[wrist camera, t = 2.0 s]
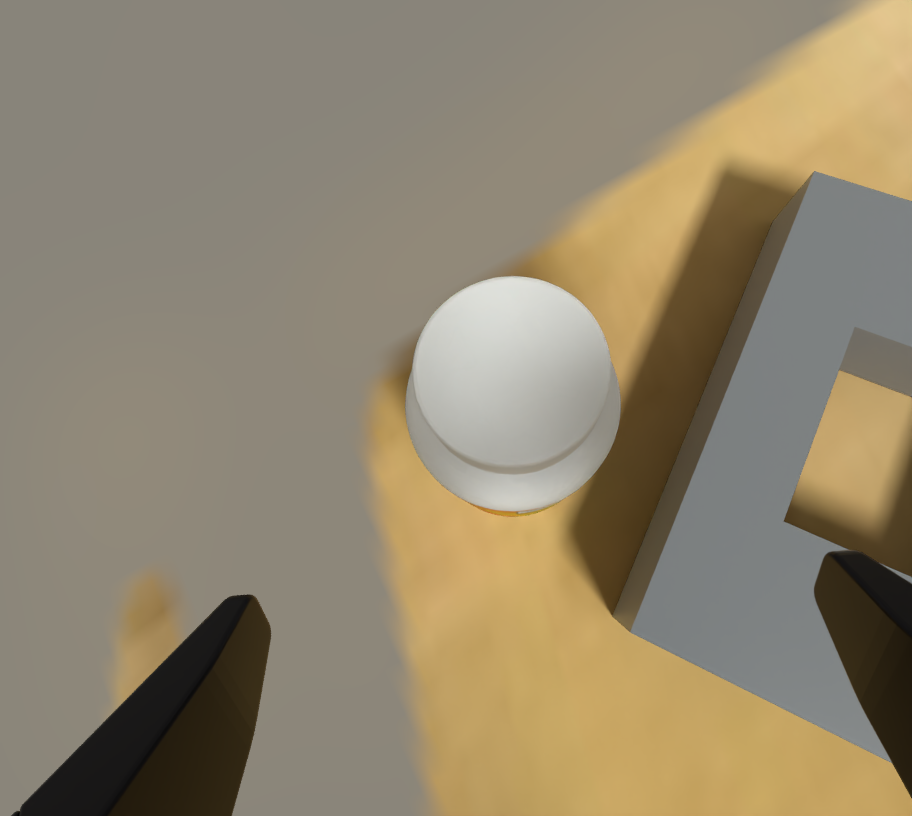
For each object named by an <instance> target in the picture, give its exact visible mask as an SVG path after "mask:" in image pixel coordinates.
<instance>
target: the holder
mask: <svg viewBox="0 0 912 816" xmlns="http://www.w3.org/2000/svg"><path fill="white" fill-rule="evenodd" d="M839 370H841V371H844V372H847V373H849V374H852V375H855V376H857V377H860V378H863V379H865V380H868V381H871V382H873V383H876V384H879V385H881V386H884V387H887V388H889V389H892V390H895V391H897V392H900V393H903V394H905V395H908V396H911V397H912V201H909V200H906V199H902V198H899V197H896V196H893V195H890V194H886V193H883V192H880V191H877V190H873V189H870V188H867V187H864V186H861V185H857V184H854V183H851V182H848V181H845V180H841V179H838V178H835V177H832V176H828V175H825V174H822V173H819V172H816V171H814V172H813V173H812V175H811V176H810V177H809V178H808V179H807V181H806V182H805V183H804V184H803V185H802V187H801V188H800V189H799V190H798V191H797V193H796V194H795V195H794V196H793V198H792V199H791V200H790V201H789V202H788V204H787V205H786V206H785V207H784V208H783V210H782V211H781V212H780V213H779V214H778V216H777V217H776V218H775V219H774V220H773V222H772V225H771V227H770V230H769V232H768V235H767V237H766V240H765V242H764V244H763V247H762V249H761V252H760V254H759V257H758V259H757V262H756V264H755V267H754V269H753V271H752V274H751V276H750V279H749V281H748V284H747V286H746V289H745V291H744V294H743V296H742V299H741V301H740V303H739V306H738V308H737V311H736V313H735V316H734V318H733V321H732V323H731V326H730V328H729V330H728V333H727V335H726V338H725V340H724V343H723V345H722V348H721V350H720V353H719V355H718V358H717V360H716V362H715V365H714V367H713V370H712V372H711V375H710V377H709V380H708V382H707V385H706V387H705V390H704V392H703V394H702V397H701V399H700V402H699V404H698V407H697V409H696V412H695V414H694V417H693V419H692V421H691V424H690V426H689V429H688V431H687V434H686V436H685V439H684V441H683V444H682V446H681V449H680V451H679V453H678V456H677V458H676V461H675V463H674V466H673V468H672V471H671V473H670V476H669V478H668V481H667V483H666V485H665V488H664V490H663V493H662V495H661V498H660V500H659V503H658V505H657V508H656V510H655V512H654V515H653V517H652V520H651V522H650V525H649V527H648V530H647V532H646V535H645V537H644V540H643V542H642V544H641V547H640V549H639V552H638V554H637V557H636V559H635V562H634V564H633V567H632V569H631V571H630V574H629V576H628V579H627V581H626V584H625V586H624V589H623V591H622V594H621V596H620V599H619V601H618V603H617V606H616V608H615V611H614V613H613V616H612V617H614V618H615V619H616V620H617V621H618V622H619V623H620V624H621V625H623V626H624V627H625V628H626V629H627V630H628V631H629V632H631V633H633V634H635V635H637V636H639V637H641V638H643V639H645V640H647V641H649V642H651V643H653V644H655V645H657V646H659V647H661V648H663V649H665V650H667V651H669V652H671V653H673V654H675V655H677V656H679V657H681V658H683V659H685V660H687V661H689V662H691V663H693V664H695V665H697V666H699V667H701V668H703V669H705V670H707V671H709V672H711V673H713V674H715V675H717V676H719V677H721V678H723V679H725V680H727V681H729V682H731V683H733V684H735V685H737V686H739V687H741V688H743V689H745V690H747V691H749V692H751V693H753V694H755V695H757V696H759V697H761V698H763V699H765V700H767V701H769V702H771V703H773V704H775V705H777V706H779V707H781V708H783V709H785V710H787V711H789V712H791V713H793V714H795V715H797V716H799V717H801V718H803V719H805V720H807V721H809V722H811V723H813V724H815V725H817V726H819V727H821V728H823V729H825V730H827V731H829V732H831V733H833V734H835V735H837V736H839V737H841V738H843V739H845V740H847V741H849V742H851V743H853V744H855V745H857V746H859V747H861V748H863V749H865V750H867V751H869V752H871V753H873V754H875V755H877V756H879V757H881V758H883V759H885V760H887V761H889V762H891V760H890V758H889V756H888V754H887V753H886V751H885V749H884V747H883V745H882V744H881V742H880V740H879V738H878V736H877V735H876V733H875V731H874V729H873V727H872V725H871V724H870V722H869V720H868V718H867V716H866V714H865V712H864V710H863V709H862V707H861V705H860V703H859V701H858V699H857V696H856V694H855V692H854V690H853V688H852V686H851V683H850V681H849V678H848V676H847V674H846V671H845V669H844V667H843V664H842V662H841V660H840V657H839V655H838V653H837V650H836V648H835V646H834V643H833V641H832V639H831V636H830V634H829V632H828V629H827V627H826V625H825V622H824V620H823V618H822V615H821V613H820V611H819V608H818V606H817V603H816V601H815V597H814V585H815V582H816V579H817V576H818V573H819V570H820V567H821V564H822V561H823V558H824V556H825V555H826V554H827V553H828V552H831V551H842V550H848V549H846V548H844V547H841V546H839V545H837V544H834V543H832V542H830V541H828V540H825V539H823V538H821V537H818V536H816V535H814V534H811V533H809V532H807V531H805V530H802V529H800V528H798V527H795V526H793V525H791V524H788V523H786V522H784V519H785V516H786V513H787V510H788V508H789V505H790V502H791V499H792V497H793V494H794V491H795V489H796V486H797V483H798V480H799V478H800V475H801V472H802V469H803V467H804V464H805V461H806V459H807V456H808V453H809V450H810V448H811V445H812V442H813V439H814V437H815V434H816V431H817V429H818V426H819V423H820V420H821V418H822V415H823V412H824V409H825V407H826V404H827V401H828V398H829V396H830V393H831V390H832V388H833V385H834V382H835V379H836V377H837V374H838V371H839ZM881 565H883V564H881ZM883 566H885V565H883ZM885 567H886V568H888V569H889V570H891V571H893V572H894V573H896V574H897V575H899V576H901V577H902V578H904V579H905V580H907V581H909V582H910V583H912V577H910V576H908V575H906V574H903V573H901V572H899V571H897V570H894V569H892V568H890V567H887V566H885ZM891 763H892V762H891Z"/></svg>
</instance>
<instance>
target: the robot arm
mask: <svg viewBox="0 0 912 816" xmlns="http://www.w3.org/2000/svg"><path fill="white" fill-rule="evenodd" d="M814 597H815V601H816V603H817V606H818V608H819V611H820V613H821V615H822V618H823V620H824V622H825V625H826V627H827V629H828V632H829V634H830V636H831V639H832V641H833V643H834V646H835V648H836V650H837V653H838V655H839V657H840V660H841V662H842V664H843V667H844V669H845V671H846V674H847V676H848V678H849V681H850V683H851V686H852V688H853V690H854V692H855V694H856V696H857V699H858V701H859V703H860V705H861V707H862V709H863V710H864V712H865V714H866V716H867V718H868V720H869V722H870V724H871V725H872V727H873V729H874V731H875V733H876V735H877V736H878V738H879V740H880V742H881V744H882V745H883V747H884V749H885V751H886V753H887V754H888V756H889V758H890V760H891V762H892V764H893V765H894V767H895V769H896V771H897V773H898V774H899V776H900V778H901V780H902V782H903V783H904V785H905V787H906V789H907V791H908V793H909V794H910V796H911V798H912V583H910V582H909V581H907V580H905V579H904V578H902V577H901V576H899V575H897V574H896V573H894V572H893V571H891V570H889V569H888V568H886V567H885V566H883V565H881V564H880V563H878V562H877V561H875V560H874V559H872V558H870V557H869V556H867V555H866V554H864V553H862V552H860V551H857V550H842V551H831V552H828V553H827V554H826V555H825V556H824V558H823V561H822V564H821V567H820V570H819V573H818V576H817V579H816V582H815V585H814ZM270 640H271V628H270V625H269V622H268V620H267V618H266V616H265V614H264V612H263V610H262V608H261V606H260V604H259V602H258V600H257V598H256V597H254V596H253V595H237V596H231V597H228V598H227V599H225V600H224V601H223V602H222V603H221V604H220V605H219V606H218V607H217V608H216V609H215V610H214V611H213V612H212V613H211V614H210V615H209V616H208V617H207V618H206V619H205V620H204V621H203V622H202V623H201V624H200V625H199V626H198V627H197V628H196V629H195V630H194V631H193V632H192V633H191V634H190V635H189V636H188V637H187V638H186V639H185V641H184V642H183V643H182V644H181V645H180V646H179V647H178V648H177V649H176V650H175V651H174V652H173V653H172V654H171V655H170V656H169V657H168V658H167V659H166V660H165V661H164V662H163V663H162V664H161V665H160V666H159V667H158V668H157V669H156V670H155V671H154V672H153V673H152V674H151V675H150V676H149V677H148V678H147V679H146V680H145V681H144V682H143V683H142V684H141V685H140V686H139V687H138V688H137V689H136V690H135V691H134V692H133V693H132V694H131V695H130V696H129V697H128V698H127V699H126V700H125V701H124V702H123V703H122V704H121V705H120V706H119V707H118V708H117V709H116V710H115V711H114V712H113V713H112V714H111V715H110V716H109V717H108V718H107V719H106V720H105V722H104V723H103V724H102V725H101V726H100V727H99V728H98V729H97V730H96V731H95V732H94V733H93V734H92V735H91V736H90V737H89V738H88V739H87V740H86V741H85V742H84V743H83V744H82V745H81V746H80V747H79V748H78V749H77V750H76V751H75V752H74V753H73V754H72V755H71V756H70V757H69V758H68V759H67V760H66V761H65V762H64V763H63V764H62V765H61V766H60V767H59V768H58V769H57V770H56V771H55V772H54V773H53V774H52V775H51V776H50V777H49V778H48V779H47V780H46V781H45V782H44V783H43V784H42V785H41V786H40V787H39V788H38V789H37V790H36V791H35V792H34V794H32V795H31V796H30V797H29V798H28V799H27V801H26V802H25V803H24V804H23V805H22V806H21V808H20V811H16V812H15V813H13V814H12V815H11V816H232V813H233V809H234V806H235V802H236V798H237V795H238V791H239V788H240V784H241V780H242V777H243V773H244V769H245V766H246V762H247V759H248V755H249V751H250V748H251V743H252V740H253V736H254V731H255V726H256V721H257V716H258V710H259V704H260V699H261V692H262V687H263V681H264V675H265V669H266V663H267V658H268V652H269V645H270Z"/></svg>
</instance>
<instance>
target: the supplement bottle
mask: <svg viewBox="0 0 912 816" xmlns="http://www.w3.org/2000/svg"><path fill="white" fill-rule="evenodd" d="M405 411H406V420H407V426H408V430H409V434H410V437H411V440H412V443H413V445H414V448H415V450H416V452H417V454H418V456H419V458H420V459H421V461H422V462H423V464H424V465H425V467H426V468H427V469H428V471H429V472H430V473H431V474H432V475H433V477H434V478H435V479H436V480H437V481H438V482H439V483H440V484H441V485H442V486H444V487H445V488H446V489H447V490H449V491H450V492H451V493H453V494H454V495H456V496H458V497H459V498H461V499H463V500H464V501H466V502H468V503H469V504H471V505H473V506H475V507H477V508H479V509H481V510H483V511H485V512H488V513H492V514H495V515H501V516H509V517H515V516H526V515H530V514H534V513H538V512H540V511H543V510H545V509H548V508H550V507H552V506H553V505H555V504H557V503H558V502H560V501H561V500H563V499H564V498H566V497H568V496H570V495H571V494H572V493H574V492H575V491H577V490H578V489H579V488H580V487H582V486H583V485H584V484H585V483H586V482H587V481H588V480H589V479H590V478H591V477H592V476H593V475H594V474H595V472H596V471H597V470H598V468H599V467H600V466H601V464H602V463H603V461H604V460H605V458H606V457H607V455H608V453H609V451H610V449H611V447H612V445H613V443H614V440H615V437H616V434H617V430H618V426H619V421H620V412H621V398H620V388H619V383H618V379H617V376H616V373H615V370H614V367H613V364H612V362H611V359H610V353H609V349H608V345H607V342H606V339H605V337H604V334H603V332H602V330H601V328H600V326H599V324H598V323H597V321H596V320H595V318H594V317H593V315H592V313H591V312H590V311H589V310H588V309H587V308H586V307H585V306H584V305H583V304H582V303H581V302H580V301H579V300H578V299H577V298H576V297H574V296H573V295H571V294H570V293H568V292H567V291H565V290H563V289H562V288H560V287H558V286H556V285H553V284H551V283H549V282H546V281H543V280H540V279H535V278H531V277H521V276H505V277H496V278H491V279H486V280H483V281H480V282H477V283H475V284H472V285H470V286H467V287H465V288H463V289H462V290H460V291H459V292H457V293H455V294H454V295H452V296H451V297H450V298H449V299H447V300H446V301H445V302H444V303H443V304H441V305H440V307H439V308H438V309H437V310H436V311H435V312H434V313H433V314H432V316H431V317H430V319H429V320H428V322H427V323H426V325H425V327H424V328H423V330H422V332H421V335H420V337H419V339H418V341H417V345H416V348H415V352H414V358H413V365H412V370H411V374H410V377H409V381H408V386H407V392H406V403H405Z"/></svg>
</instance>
